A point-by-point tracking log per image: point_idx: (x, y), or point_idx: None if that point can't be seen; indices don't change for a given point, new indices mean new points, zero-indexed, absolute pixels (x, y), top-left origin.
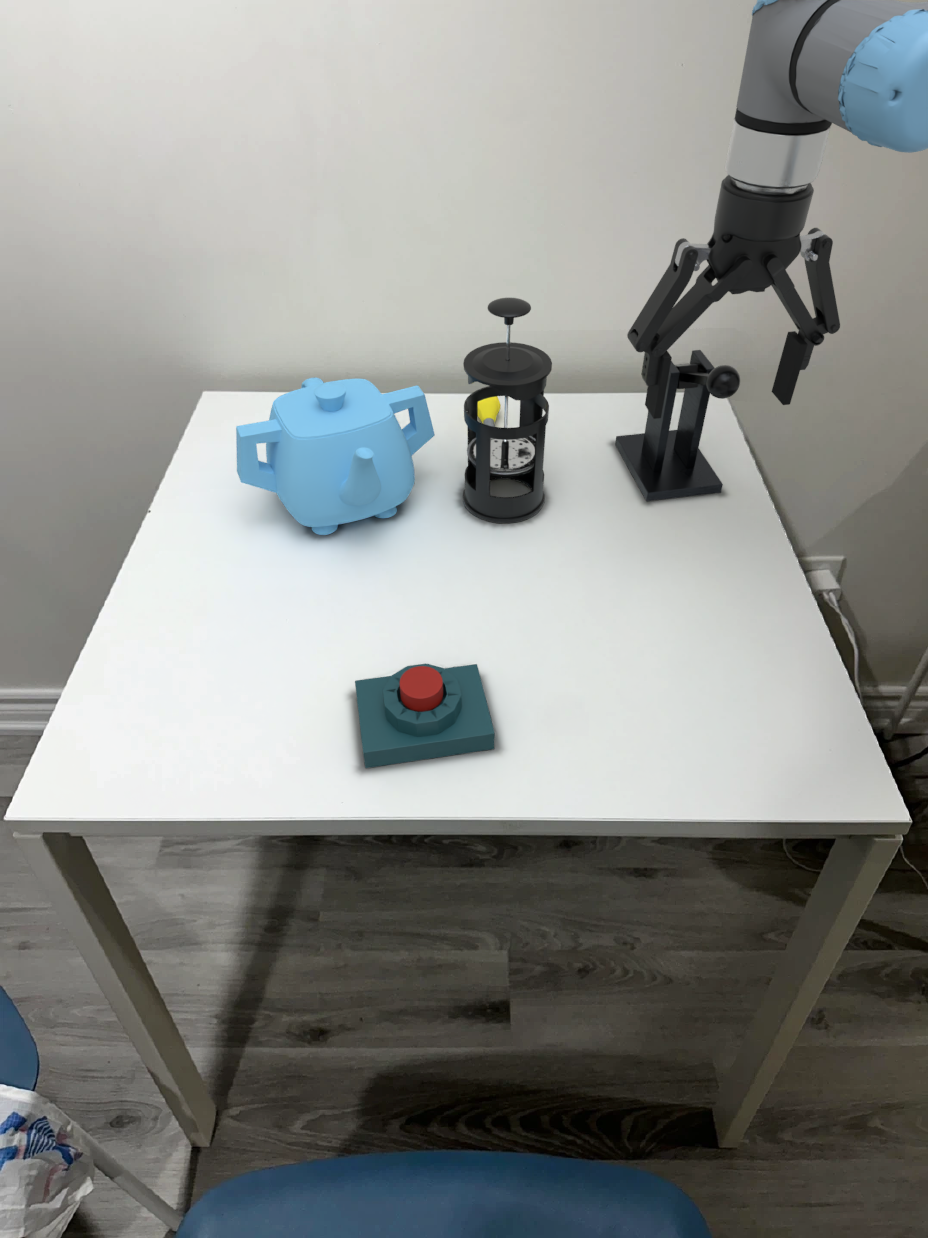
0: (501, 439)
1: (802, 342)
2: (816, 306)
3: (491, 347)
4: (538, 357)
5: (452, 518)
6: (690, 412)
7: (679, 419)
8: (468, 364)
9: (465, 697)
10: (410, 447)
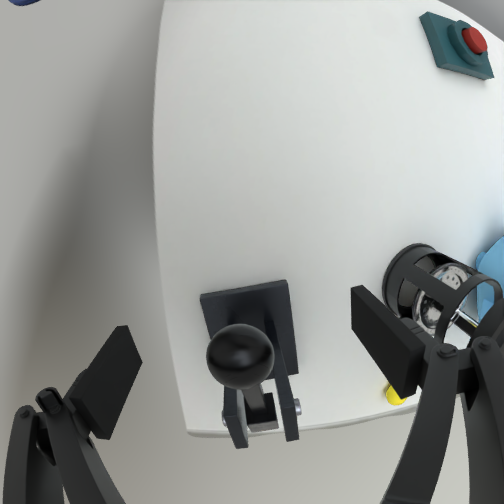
0: (483, 274)
1: (78, 405)
2: (52, 466)
3: None
4: None
5: (450, 251)
6: None
7: None
8: None
9: (447, 40)
10: (488, 304)
